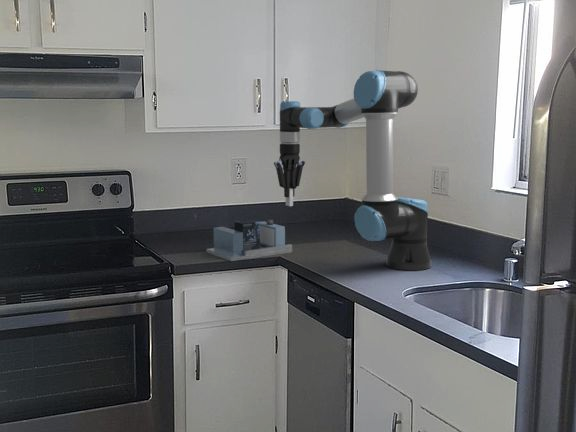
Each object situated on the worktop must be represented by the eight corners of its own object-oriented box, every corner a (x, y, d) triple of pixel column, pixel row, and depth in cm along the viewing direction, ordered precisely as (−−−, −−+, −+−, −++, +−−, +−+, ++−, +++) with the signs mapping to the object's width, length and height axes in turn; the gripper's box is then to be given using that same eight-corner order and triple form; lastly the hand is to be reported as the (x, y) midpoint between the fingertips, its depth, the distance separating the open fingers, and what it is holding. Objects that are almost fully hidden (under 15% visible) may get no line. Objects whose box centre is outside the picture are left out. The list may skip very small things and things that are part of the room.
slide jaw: (284, 248, 274) (284, 222, 273) (274, 249, 272) (274, 223, 270) (264, 241, 286) (264, 217, 284) (254, 243, 283) (254, 218, 281)
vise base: (292, 252, 274) (292, 227, 272) (231, 261, 259) (231, 235, 258) (265, 244, 288) (265, 220, 287) (206, 252, 274) (206, 227, 272)
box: (242, 252, 268) (242, 223, 267) (234, 249, 273) (233, 220, 271) (260, 249, 273) (260, 221, 271) (252, 246, 278) (252, 218, 276)
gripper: (298, 141, 284) (297, 202, 288) (269, 143, 277) (269, 205, 281) (309, 143, 278) (309, 205, 282) (280, 144, 271) (280, 208, 275)
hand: (289, 205), depth 282 cm, fingers closed
